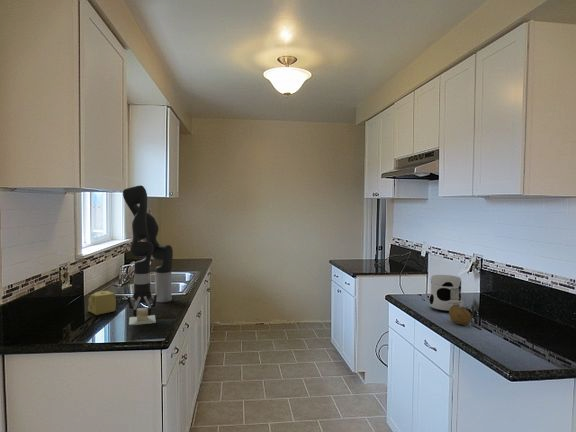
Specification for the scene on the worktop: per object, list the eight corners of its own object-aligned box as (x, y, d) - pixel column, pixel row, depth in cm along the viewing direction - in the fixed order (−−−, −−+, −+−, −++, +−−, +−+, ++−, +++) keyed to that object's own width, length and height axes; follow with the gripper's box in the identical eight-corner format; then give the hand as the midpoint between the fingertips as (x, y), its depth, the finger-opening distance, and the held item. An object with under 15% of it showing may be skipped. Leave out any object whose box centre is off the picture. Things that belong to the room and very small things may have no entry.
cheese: (87, 311, 209) (87, 293, 209) (108, 307, 217) (108, 289, 217) (95, 315, 202) (95, 296, 202) (116, 311, 210) (116, 292, 210)
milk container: (433, 304, 228) (434, 273, 228) (465, 309, 218) (466, 276, 218) (424, 310, 214) (425, 277, 214) (458, 316, 204) (459, 281, 204)
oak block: (136, 318, 195) (136, 308, 195) (147, 317, 197) (147, 307, 197) (136, 321, 190) (136, 311, 190) (147, 320, 192) (147, 310, 192)
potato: (456, 328, 183) (457, 311, 183) (444, 319, 197) (444, 304, 197) (477, 328, 183) (477, 311, 183) (463, 319, 198) (463, 304, 197)
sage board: (129, 318, 197) (129, 317, 197) (154, 316, 201) (154, 315, 201) (129, 325, 186) (129, 324, 186) (155, 322, 190) (155, 321, 190)
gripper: (126, 284, 187) (126, 319, 188) (157, 282, 192) (158, 316, 193) (126, 281, 194) (126, 315, 195) (157, 279, 199) (157, 312, 200)
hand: (142, 316), depth 194 cm, fingers open, 5 cm apart
